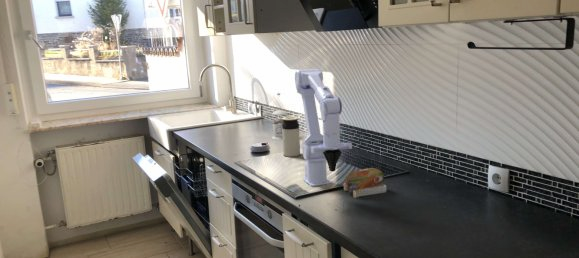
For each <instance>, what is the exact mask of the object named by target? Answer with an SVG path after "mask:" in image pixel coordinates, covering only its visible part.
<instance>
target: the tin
mask: <svg viewBox="0 0 579 258" xmlns="http://www.w3.org/2000/svg"><path fill="white" fill-rule="evenodd" d="M344 183H345V185H346V188H347V190H348V191H347V192H350V193H352V194H353V190H356V189H359V188H364V187H371V186H377V185H384V183H385V175H384V173H383V171H382V170H381V169H379V168H374V167H369V168H363V169H358V170H353V171H351V172H349V173H347V176H346V177H345V182H344Z"/></svg>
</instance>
